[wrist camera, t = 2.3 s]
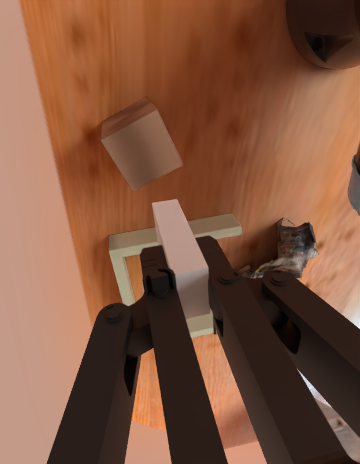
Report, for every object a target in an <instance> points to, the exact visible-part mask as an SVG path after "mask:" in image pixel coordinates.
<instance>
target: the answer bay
mask: <svg viewBox="0 0 360 464" xmlns="http://www.w3.org/2000/svg"><path fill="white" fill-rule="evenodd" d="M187 222H188V224H189V226H190V229H191V231H192V233H193V235H194V237H195V238H197V237H202V236H208V235H210V236H211V237H213V238H214V239H221V238H226V237H231V236H237V235H241V231H242V226H241V224H240V223H239V222H238V220H237V219H236V218H235V216H234V215H233V214H232V213H229V214H224V215H218V216H213V217H207V218H202V219H196V220H191V221H187ZM152 246H158V241H157V235H156V228H155V227H152V228H147V229H141V230H136V231H130V232H125V233H119V234H114V235H109V254H110V257H111V261H112V265H113V268H114V272H115V276H116V280H117V283H118V287H119V291H120V294H121V298H122V302H123V304H125V305H127V306H130V305H132V304H134V303H135V299H134V295H133V290H132V286H131V282H130V278H129V274H128V269H127V265H126V261H125V257H127V256H133V255H138V254H140V253H141V251H142V249H143V248H147V247H152ZM186 322H187V325H188V329H189V332H190V336H191V338H194V337H198V336H202V335H207V334H211V333H214V332H213V313H212V310H210V314H206V315H202V316H197V317H193V318H188V319H186ZM216 332H217V331H216Z"/></svg>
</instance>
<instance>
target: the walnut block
mask: <svg viewBox="0 0 360 464" xmlns="http://www.w3.org/2000/svg"><path fill="white" fill-rule="evenodd" d="M101 142H102V143H103V145H104V147H105V148H106V150H107V151H108V153H109V155H110V156H111V158H112V159H113V161H114V162H115V164H116V166H117V167H118V169H119V170H120V172H121V174H122V175H123V177H124V178H125V180H126V182H127V183H128V185H129V186H130V188H131V189H132V191H135V190H137V189H139V188H141V187H143V186H145V185H146V184H148V183H150V182H152V181H154V180H156V179H158V178H160V177H162V176H163V175H165V174H167V173H169V172H171V171H173V170H175V169H177V168H178V167H180V166H182V165H184V164H183V162H182V160H181V158H180V156H179V154H178V152H177V150H176V148H175V146H174V144H173V141H172V139H171V137H170V135H169V133H168V131H167V129H166V127H165V125H164V123H163V121H162V119H161V116H160V114H159V112H158V110H157V109H156V107H155V106H154V105H153V104H152V103H151V101H150V100H149V99H148V98H147V97H145V98H143V99H141V100H139V101H138V102H136V103H134V104H132V105H130V106H129V107H127V108H125V109H123V110H121V111H120V112H118V113H116V114H114V115H112V116H111V117H109V118H107V119H105V120H103V121H102V131H101Z"/></svg>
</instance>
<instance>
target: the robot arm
mask: <svg viewBox="0 0 360 464" xmlns="http://www.w3.org/2000/svg"><path fill="white" fill-rule="evenodd" d="M286 11H287V22H288V27H289V31H290V35H291V38H292V40H293V42H294V44H295V46H296V48H297V50H298V51H299V52H300V54H301V55H302V56H303V57H304V58H305V59H306V60H308V61H309V62H311V63H312V64H314V65H316V66H319V67H323V68H333V69H346V68H352V67H356V66H359V65H360V0H287V3H286ZM352 168H353V169H352V173H351V178H350V182H349V186H348V198H349V201H350V203H351V205H352V207H353V208H354V209H355V210H356V211H357V212H358V215H359V216H360V143H359V147H358V150H357V154H356V155H354V157H353V159H352ZM152 208H153V214H154V221H155V228H156V235H157V241H158V246H152V247H147V248H143V249H142V251H141V253H140V260H141V266H142V273H143V280H142V281H143V285H144V290H145V292H144V294H143V296H142V297H141V298H140V299H139V300H138V301H137V302H135V303H134V304H132V305H130V306H127V305H125V304H123V303H114V304H110V305H108V306H106V307H104V308H103V309H102V310H101V311H100V312H99V314H98V315H97V318H96V321H95V324H94V327H93V330H92V332H91V335H90V338H89V341H88V344H87V347H86V350H85V353H84V356H83V359H82V362H81V365H80V368H79V371H78V373H77V377H76V380H75V382H74V385H73V388H72V391H71V394H70V397H69V400H68V403H67V406H66V409H65V411H64V415H63V417H62V420H61V423H60V426H59V429H58V432H57V435H56V438H55V441H54V444H53V447H52V450H51V452H50V455H49V458H48V461H47V464H124V463H125V456H126V450H127V444H128V437H129V431H130V425H131V418H132V412H133V406H134V399H135V393H136V387H137V380H138V374H139V368H140V361H141V355H142V354H143V353H145V352H147V351H149V350H150V349H152V348H154V353H155V360H156V366H157V372H158V379H159V385H160V392H161V398H162V405H163V411H164V417H165V424H166V430H167V436H168V443H169V449H170V456H171V462H172V464H228V462H227V459H226V456H225V452H224V449H223V445H222V442H221V438H220V435H219V432H218V428H217V425H216V421H215V418H214V414H213V411H212V408H211V404H210V401H209V397H208V394H207V390H206V387H205V384H204V380H203V377H202V373H201V370H200V366H199V363H198V360H197V356H196V353H195V349H194V346H193V342H192V339H191V336H190V332H189V329H188V325H187V322H186V319H188V318H193V317H197V316H202V315H206V314H210V308H211V310H212V313H213V332H214V334H216V331H217V334H218V336H219V339H220V341H221V344H222V347H223V349H224V352H225V354H226V357H227V360H228V362H229V365H230V368H231V370H232V373H233V375H234V378H235V381H236V383H237V386H238V389H239V391H240V394H241V396H242V399H243V402H244V404H245V407H246V410H247V412H248V415H249V417H250V420H251V423H252V425H253V428H254V431H255V433H256V436H257V438H258V441H259V443H260V446H261V449H262V451H263V454H264V457H265V459H266V462H267V464H360V463H358V462H357V461H355V460H353V459H352V458H351V457H350V456H349V455H348V454H347V452H346V451H345V449H344V448H343V446H342V444H341V443H340V441H339V439H338V438H337V436H336V434H335V433H334V431H333V429H332V427H331V426H330V424H329V422H328V421H327V419H326V417H325V416H324V414H323V412H322V410H321V409H320V407H319V405H318V404H317V402H316V400H315V399H314V397H313V395H312V393H311V392H310V390H309V388H308V387H307V385H306V383H305V382H304V380H303V378H302V376H301V375H300V373H299V371H300V372H301V373H302V374H303V375H304V377H305V378H306V379H307V380H308V381H309V382H310V383H311V384H312V385H313V387H314V388H315V389H316V390H317V391H318V392H319V393H320V394H321V395H322V397H323V398H324V399H325V400H326V401H327V402H328V403H329V404H330V405H331V407H332V408H333V409H334V410H335V411H336V412H337V413H338V414H339V416H340V417H341V418H342V419H343V420H344V421H345V422H346V423H347V424H348V426H349V427H350V428H351V429H352V430H353V431H354V432H355V433H356V434H357V436H358V437H359V438H360V329H359V328H358V327H357V326H355V325H354V324H353V323H352V322H350V321H349V320H348V319H347V318H345V317H344V316H343V315H341V314H340V313H339V312H338V311H336V310H335V309H334V308H333V307H331V306H330V305H329V304H328V303H326V302H325V301H324V300H323V299H321V298H320V297H319V296H318V295H316V294H315V293H314V292H313V291H311V290H310V289H309V288H307V287H306V286H305V285H304V284H302V283H301V282H300V281H299V280H297V279H296V278H295V277H294V276H292V275H291V274H289V273H288V272H286V271H283V270H274V269H273V270H269V271H267V272H265V273H264V274H263V276H262V278H247V277H243V276H242V275H241V274H240V273H239V272H238V271H236V270H234V269H232V267H231V265H230V263H229V261H228V260H227V258H226V256H225V254H224V253H223V252H222V249H221V247H220V246H219V244H218V242H217V240H216V239H214V238H213V237H211V236H210V235H208V236H202V237H197V238H195V237H194V235H193V233H192V231H191V229H190V226H189V224H188V222H187V220H186V218H185V216H184V213H183V211H182V209H181V207H180V205H179V203H178V200H177V199H173V200H167V201H161V202H155V203H152ZM297 369H298V370H299V371H298V370H297Z"/></svg>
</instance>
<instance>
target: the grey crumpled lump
mask: <svg viewBox="0 0 360 464" xmlns="http://www.w3.org/2000/svg"><path fill="white" fill-rule="evenodd" d="M282 220H283V218H282V219H281V220H280V221H279V222H277V226H278V235H279V228H280V235H281V241H279V242H278V258H277V259H276V260H275V261H273V260H271V261H270V262H269V263H266V264H263V265H261V266H260V267H259V268H258V269H257V270H256V271H255V272H252V273H251V269H250V266H249V264H248V265H247V266H245V267H243V268H242V269H240V270H238V272H239V273H240V274H241V275H242V276H243V277H247V278H262V276H263V274H264V273H265V272H267V271H269V270H273V269H274V270H283V271H286V272H288V273H289V274H291V275H292V276H294V277H295V278H302V272H303V269H304V268H305V267H306V264H307V262H308V260H309V259H310V258H313V257H314V256H316V255H317V253H319V252H318V251H317V250H316V249H315V248H314V243H316V239H315V235H314V231H313V227H312V225H311V224H310V223H309V222H308V223H304V224H302V225H300V226H298V227H289V226H288V227H285V226H282V225H281V224H282ZM288 221H289V220H288ZM289 222H290V221H289ZM292 224H293V223H292ZM293 225H294V224H293ZM294 226H295V225H294ZM316 246H317V243H316ZM317 249H318V248H317ZM318 255H319V254H318ZM272 261H273V262H272ZM260 269H262V270H260Z"/></svg>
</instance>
